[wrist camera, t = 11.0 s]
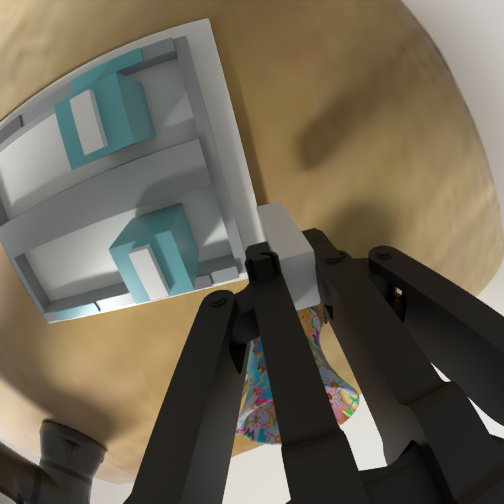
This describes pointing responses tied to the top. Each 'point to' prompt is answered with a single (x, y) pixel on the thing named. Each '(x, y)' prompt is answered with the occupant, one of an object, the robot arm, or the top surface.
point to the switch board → (170, 126)
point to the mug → (260, 398)
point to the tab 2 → (157, 254)
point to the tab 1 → (103, 119)
